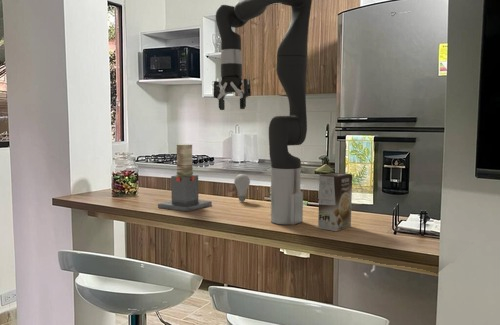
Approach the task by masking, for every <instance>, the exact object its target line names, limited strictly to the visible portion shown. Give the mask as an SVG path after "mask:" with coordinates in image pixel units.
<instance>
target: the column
mask: <svg viewBox="0 0 500 325" xmlns="http://www.w3.org/2000/svg"><path fill="white" fill-rule="evenodd" d="M176 175H177V176H181V177H188V176H193V175H194V172H193V144H189V143H188V144H186V143H185V144H182V143H181V144H176Z"/></svg>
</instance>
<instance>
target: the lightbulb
mask: <svg viewBox="0 0 500 325" xmlns="http://www.w3.org/2000/svg"><path fill="white" fill-rule="evenodd" d="M250 180H251V179H250V177H249V176H248V175H247V174H244V173H240V174H237V175H236V176H235V177H234V183H233V184H234V186H235V188H236V191H237V195H238V201H240V202H242V203H243V202H245V200H246V196H247V190H248V188H249V186H250V184H251V181H250Z"/></svg>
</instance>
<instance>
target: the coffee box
mask: <svg viewBox="0 0 500 325" xmlns="http://www.w3.org/2000/svg"><path fill="white" fill-rule="evenodd" d="M318 181H319V182H318V215H317V217H318V222H317V223H318V224H317V225H318V227H317V228H318V229H320V230H325V231H326V230H327V231H333V232H338V231H342V230H344V229H346V228H347V229H348V228H349V227H352V226H351V225H352V203H353V202H352V200H353V198H352V196H353V194H352V193H353V174H352V173H346V172H345V173H342V172H333V173H332V172H331V173H324V174H319V180H318Z"/></svg>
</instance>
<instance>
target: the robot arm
mask: <svg viewBox="0 0 500 325" xmlns="http://www.w3.org/2000/svg"><path fill="white" fill-rule="evenodd" d="M312 2H313V0H238V1H237V2H236V3H235V5H234V6H233V5H228V4H221V5H220V6H218V7H217V9H216V11H215V12H216V13H215V22H216V26H217V29H218V33H219V37H220V45H221V46H220V47H221V48H220V49H221V51H220V53H221V54H220V77H221V81H217V80H215V81H214V82H213V98H214V99H217V100H218V109H219V111H225V106H226V105H225V104H226V102H225V97H226V96H227V95H229V94H230V93H236V94H237V95H238V96H239V109H240V110H245V109H246V107H247V106H246V105H247V104H246V103H247V102H246V101H247V98H248V97H251V96H252V92H251V80H250V79H249V78H244V79H242V78H243V56H242V55H243V54H242V38H241V35H240V34H238V33H237V32H234V30H233V29H232V28H234V29H235V28H237V29H239V28H242V27H244V26H245V25H246V24H247V23H248V22H249V21H251V20H252V19H253V20H254V19H255V18H257V17H259V16H261V15H262V14H263V13H265V11H266V10H267V8H268V6H270V5H275V4H281V5H283V6H289V7H291V8H290V9H291V12H290V13H291V14H290V23H289V26H288V29H287V31H286V32H285V34H284V36H283V38H282V39H281V41H280V43H279V45H278V48H277V52H276V75H277V78H278V80H279V82H280V84H281V86H282V88H283V90H284V92H285V94H286V97H287V100H288V104H289V106H288V107H289V114H288V115H277V116H273V117H272V118H271V120H270V122H269V126H268V145H269V147H268V148H269V149H268V150H269V159H270V163H271V165H270V166H271V167H270V222H271V223H273V224H277V225H297V224H299V223H301V222H303V219H304V217H303V216H304V213H303V211H304V210H303V209H304V203H303V202H304V192H303V191H301V182H302V181H301V180H302V178H301V175H302V174H301V173H302V170H301V167H302V161H301V159H300V158H299V157H298V156H295V155H292V154H291V153H290V152H289V148H288V146H300V145H303V143H304V142H305V141H306V138H307V132H308V122H307V121H308V120H307V119H308V118H307V104H306V103H307V100H306V95H307V94H306V89H307V88H306V87H307V69H308V42H309V41H308V40H309V28H310V27H309V26H310V25H309V24H310V17H311V9H312ZM242 86H243V88H242Z"/></svg>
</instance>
